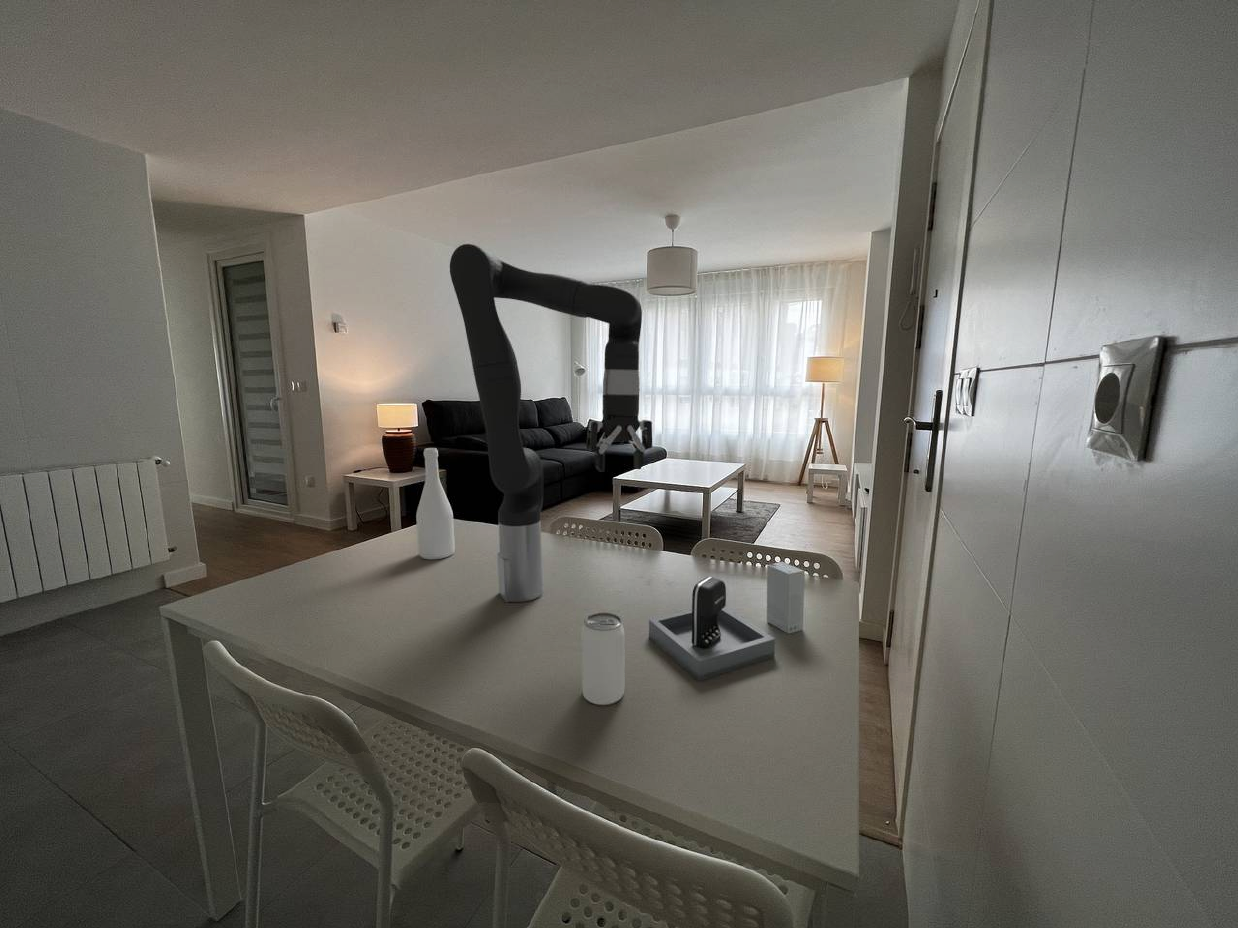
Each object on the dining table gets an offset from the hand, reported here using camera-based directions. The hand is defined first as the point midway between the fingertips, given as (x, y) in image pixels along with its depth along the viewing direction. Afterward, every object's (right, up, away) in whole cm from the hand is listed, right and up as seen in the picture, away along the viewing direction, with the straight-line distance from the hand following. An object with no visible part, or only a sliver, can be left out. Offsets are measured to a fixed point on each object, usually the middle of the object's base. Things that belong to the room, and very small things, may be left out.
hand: (619, 470), depth 105 cm
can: (-3, -34, -28) cm, 45 cm away
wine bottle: (-51, -24, +35) cm, 67 cm away
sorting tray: (+16, -32, -15) cm, 39 cm away
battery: (+16, -31, -15) cm, 38 cm away
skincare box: (+32, -31, -7) cm, 45 cm away
